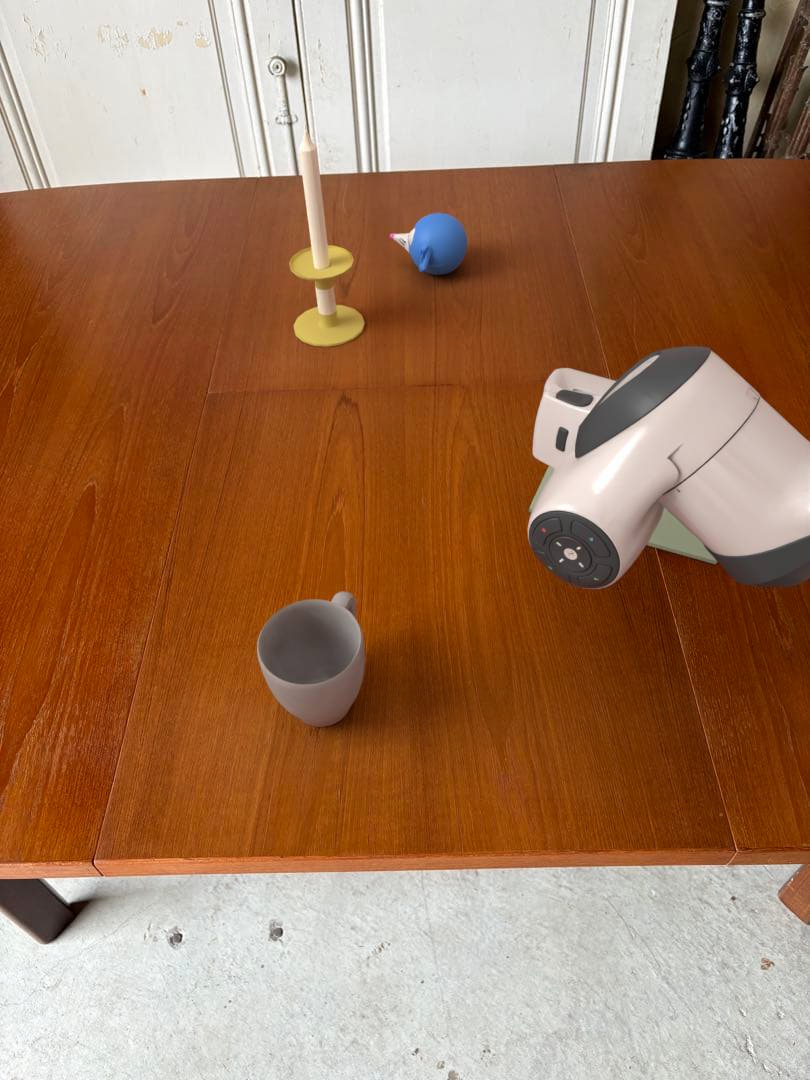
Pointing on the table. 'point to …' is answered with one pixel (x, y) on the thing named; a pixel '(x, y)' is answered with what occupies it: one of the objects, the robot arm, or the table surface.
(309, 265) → the candle
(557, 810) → the table surface
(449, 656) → the table surface
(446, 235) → the blue mole toy
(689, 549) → the mat
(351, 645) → the mug
